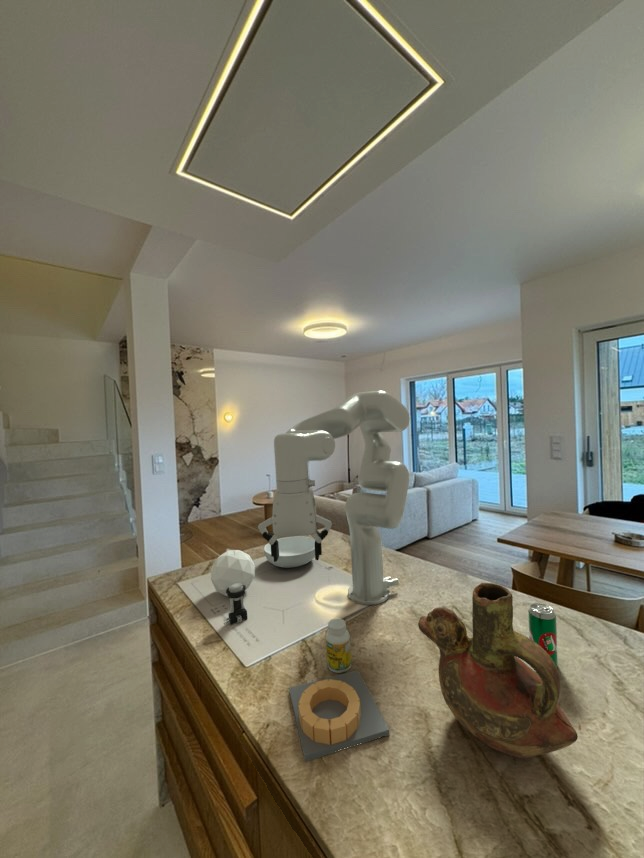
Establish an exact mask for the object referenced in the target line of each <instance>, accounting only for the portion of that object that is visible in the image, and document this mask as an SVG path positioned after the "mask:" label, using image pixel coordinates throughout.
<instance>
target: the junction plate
mask: <svg viewBox="0 0 644 858" xmlns="http://www.w3.org/2000/svg"><path fill="white" fill-rule="evenodd" d="M327 679H328V681H329V679H332V680H339V681H342V683H343V682H345V683H347V684H348V685H350V686H351V687H353V688H354V690H355V691H356V693H357V695H358V697H359V699H360V711H361V716H360V722H359V727H358V729H357V730H356V731H355V732H354V733H353V734H352V735H351V736H350V737H349V738H346V740H345V741H341V742H338V743H335V744H331V742H330V745H329V744H324V743H319V742H315V740H314V741H313V740H312V739H310V738H309V737H308V736H307V735H306V734H305V733H304V732H303V730H302V728H301V724H300V720H299V708H298V703H299V701H300V698H301V696H302V693H303V692H304V691H305V690H306V689H307V688H308V687H309V686H311V685H312V684H313V683H314V684H315V682H319V681H323V680H327ZM288 690H289V696H290V701H291V705H292V709H293V713H294V718H295V722H296V726H297V730H298V731H297V733H298V737H299V740H300V745H301V749H302V752H303V753H302V754H303V758H304V762H309V761H313V760H315V759H318V758H321V756H322V757H325V756H328V755H331V754H333V752H335V751H338V750H340V749H344V748H347V747H350V746H353V747H355V746H354V745H357V744H360V743H363V744H365V743H364V742H366V743H369V742H372V741H374V740H373V739H375V740H378V739H377V738H379V737H380V738H379V739H381V737H382V736H385V735H386V736H385V737H387V735H388V736H390V735H391V734H390V728H389V726H388V724H387V722H386V721H385V718H384V716H383V714H382V713H381V711H380V708H379V707H378V705H377V703H376V701H375V700H374V697H373V696H372V694H371V692H370V689H369V688H368V686H367V684H366V682H365V680H364V679H363V677H362V674H361V673H360V671H359V669H357V670H353V671H348V672H343V673H339V674H337V675H333V676H329V677H326V678H322V679H318V680H313V681H310V682H306V683H303V684H299V685H296V686H292V687H290V686H289V687H288ZM346 710H347V707H346V706H345V705H344V704H342V703H341V702H339V701H335V700H326V701H322V702H320V703H319V704H317V705H316V706H315V707H314V708H313V710H312V712H313V713H314V714H315V715H316V716H318V717H319V718H323V719H329V720H330V719H334V718H337V717H340V716H341V715H342V714H343V713H344V712H345V711H346ZM389 734H390V735H389ZM382 738H383V737H382ZM371 740H372V741H371ZM368 741H369V742H368ZM360 745H361V744H360ZM357 746H358V745H357ZM350 748H351V747H350ZM347 749H348V748H347ZM344 750H345V749H344ZM338 752H339V751H338ZM330 753H331V754H330ZM335 753H336V752H335ZM327 754H328V755H327Z"/></svg>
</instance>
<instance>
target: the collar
mask: <svg viewBox="0 0 644 858" xmlns="http://www.w3.org/2000/svg"><path fill="white" fill-rule="evenodd" d="M326 700H335V701H339V702H341V703H342V704H344V705H345V706H346V707H347V710H346V711H345V712H344V713H343V714H342V715H341V716H340V717H337V718H334V719H330V720H329V719H323V718H319V717H318V716H316V715H315V714H314V713H313V712H312V710H313V708H314V707H315V706H316V705H317V704H319V703H320V702H322V701H326ZM298 708H299V720H300V724H301V728H302V730H303V732H304V733H305V734H306V735H307V736H308V737H309V738H310V739H312V740H313V741H314V740H315V742H319V743H324V744H329V745H330V742H331V744H335V743H338V742H341V741H345V740H346V738H349V737H350V736H351V735H352V734H353V733H354V732H355V731H356V730H357V729H358V727H359V722H360V716H361V711H360V699H359V697H358V695H357V693H356V691H355V690H354V688H353V687H351V686H350V685H348V684H347V683H345V682H343V683H342V681H339V680H332V679H329V681H328V679H327V680H323V681H319V682H315V684H314V683H313V684H312V685H311V686H309V687H308V688H307V689H306V690H305V691H304V692H303V693H302V696H301V698H300V701H299V703H298Z"/></svg>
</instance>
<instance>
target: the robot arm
mask: <svg viewBox="0 0 644 858" xmlns="http://www.w3.org/2000/svg"><path fill="white" fill-rule="evenodd" d="M410 420H411V419H410V413H409V411H408V409H407V408H406V406H405V405H404V404H403V403H401V401H399V400H398V399H397V398H395V397H394V396H393V395H392V394H390V393H389V392H387V391H384V390H373V391H364V392H362V391H360V392H356V393H354V394H352V395H351V394H350V395H349V396H348V397H347V398H345V399H344V400H343V401H341V402H340V403H338V404H337V405H336V406H334V407H333V408H331V409H329V410H326V411H324V412H321V413H319V414H317V415H314V416H312V417H308V418H307V419H304V420H301V422H299V423H297V424H295V425H294V426H293V427H291V428H289V429H287V431H286V432H285V433H280V434H279V433H278V434H277V435H276V436H274V439H273V448H274V449H273V451H274V452H273V453H274V465H275V468H274V469H275V481H276V482H275V483H276V484H275V485H276V486H275V487H276V491H275V492H274V494H273V499H272V500H273V501H272V516H271V517H269V518H268V519H265V520H264V521H262V522H260V523H259V524H258V525H257V529H258V530H259V532H260V534H261V535H262V538H263V539H264V540H266V542H268V543H269V544H270V545H271V556H272V557H274V562H276V561H277V560H278V558H279V544H278V540H277V539H279V538H280V537H307V536H311V538H312V539H314V540H315V557H314V558H315V561H319V560H320V556H322V555H323V554H322V553H323V552H322V551H323V550H322V548H323V547H322V542H323V540H324V539H325V538H327V536H328V535H329V532H330V530H331V528H332V526H333V521H331V520H330V519H327V518H325V517H324V516H321V515H318V514H317V506H316V500H315V495H314V492H313V490H312V489H311V488H312V487H316V480H313V479H310V476H309V465H308V464H309V462H317V461H320V462H321V461H325V460H327V459H329V458H330V457H332V455H333V454H334V452H335V448H336V442H335V439H339V438H343V437H346V436H348V435H351V433H352V432H354V431H355V429H357V428H358V427H359V430H360V431H361V432H360V433H361V435H362V438H363V440H364V451H363V455H362V459H361V463H360V467H359V471H358V475H357V482H358V485H359V487H361V489H364V490H368V491H374V492H383V493H386V494H382V493H381V494H378V493H371V492H363V491H362V492H355V493H352V494H349V496H348V497H347V498H346V501H345V505H344V510H345V515H346V519H347V523H348V528H349V529H348V530H349V539H350V540H349V541H350V554H351V555H350V556H351V575H352V585H350V586H349V588H348V589H347V596H348V598H349V599H350V600H351V601H353V603H354V602H355V603H357V604H359V605H365V606H367V605H369V606H370V605H371V606H372V605H374V606H375V605H379V604H381V603H384V602H385V601H387V600H388V599H389V597H390V589H389V588H390V587H396V586H398V585H399V584H400V583H399V582H400V581H399V579H398V578H391V576H386V577H384V565H383V564H384V563H383V562H384V561H383V545H382V537H381V533H380V530H379V528H381V529H388V530H391V529H393V530H395V529H396V528H398V527H399V526H400V525H401V523H402V520H403V516H404V511H405V507H406V500H407V496H408V490H409V484H410V474H409V470H408V468H407V466H406V464H405V463H403V462H401V461H391V460H390V458H391V451H392V450H391V446H390V443H389V442H388V440H387V438H386V437H385V436H384V435H383V433H398V432H404V431H405V430H407V428H408V426H409V424H410ZM318 523H319V524H321V525H323V526H324V528H323V529H322V531H319V530H318V529H317V528H318ZM270 525H271V526H272V533H273V534H272V533H271V532H270V531H269V530H268V529H267V527H269V526H270Z"/></svg>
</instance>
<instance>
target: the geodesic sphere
mask: <svg viewBox="0 0 644 858" xmlns="http://www.w3.org/2000/svg"><path fill="white" fill-rule="evenodd" d="M225 550H226V551H225V552H223V553H222V554H221V555H219V556H218V557H217V558H216V560H215V561H214V562H213V564H212V566H211V568H210V571H211V572H210V580H211V583H212V585H213V587H214V589H215V592H218V593H220V594H222V595H224V596H226V597H228V595H227V593H226V589H227V588H228V587H229V586H230V585H231V584H233V583H236V582H239V583H242V585H244V586H245V587H246V590H248V589H249V587H250V586H251V584H252V582H253V581H254V579H255V575H256V574H255V572H256V567H255V563H254V561H253V559H252V557H251V556H250V554H248V553H246V552H245V551H242V550H240V549H235V548H234V549H233V548H230V547H229V548H226V549H225Z"/></svg>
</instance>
